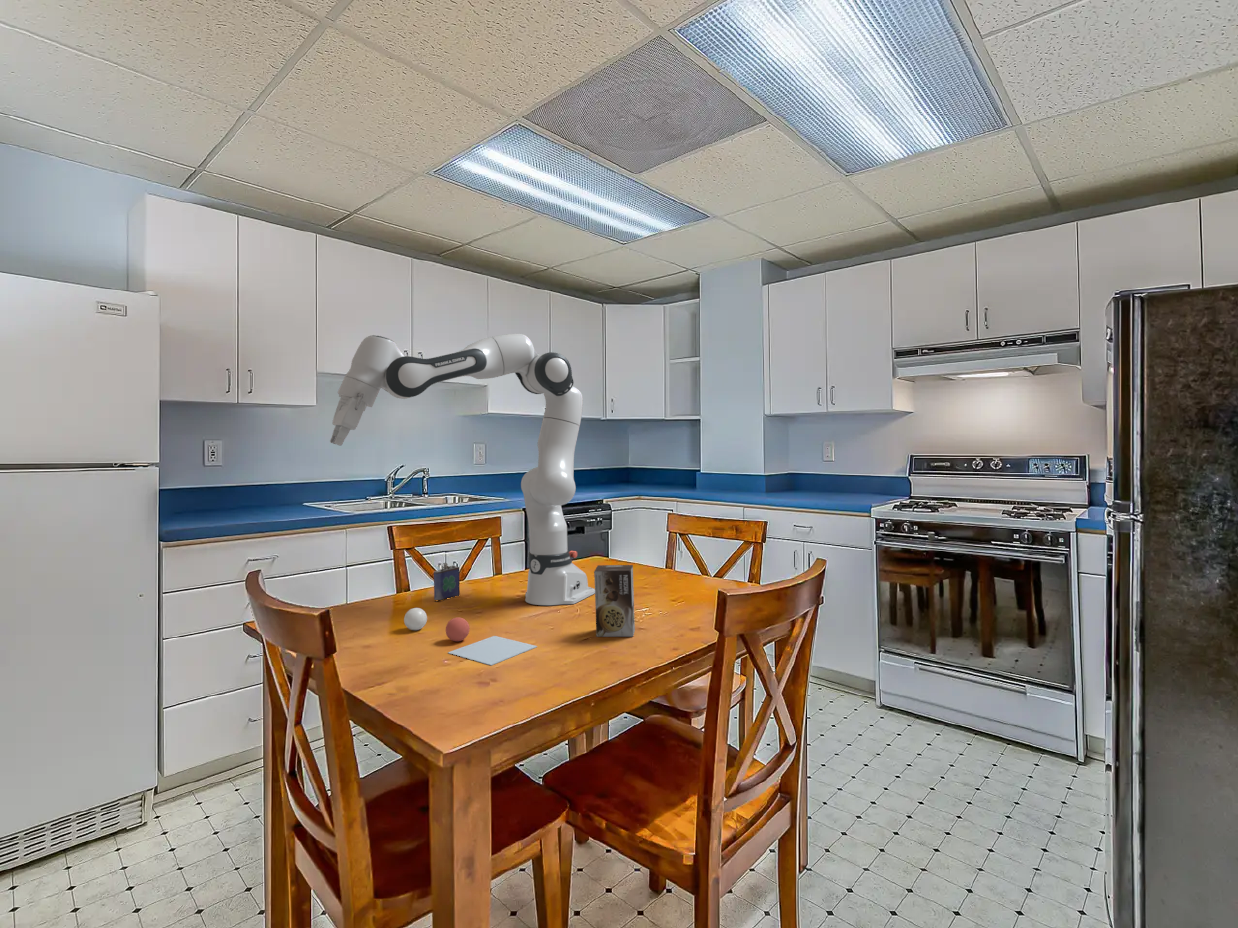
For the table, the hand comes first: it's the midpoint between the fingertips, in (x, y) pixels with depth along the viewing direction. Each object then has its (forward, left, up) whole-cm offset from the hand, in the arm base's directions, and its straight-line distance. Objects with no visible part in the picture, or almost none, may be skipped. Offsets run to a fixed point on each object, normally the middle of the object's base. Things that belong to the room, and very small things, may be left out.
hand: (335, 444), depth 159 cm
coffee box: (-35, +61, -47) cm, 85 cm away
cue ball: (-10, +17, -44) cm, 49 cm away
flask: (-35, -2, -47) cm, 59 cm away
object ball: (-10, +33, -44) cm, 56 cm away
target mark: (-10, +45, -47) cm, 66 cm away
